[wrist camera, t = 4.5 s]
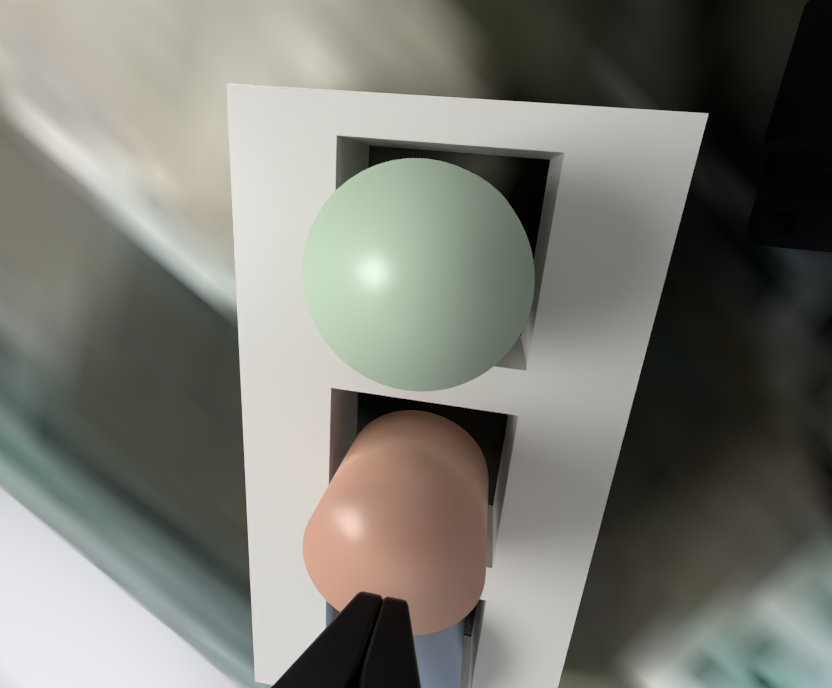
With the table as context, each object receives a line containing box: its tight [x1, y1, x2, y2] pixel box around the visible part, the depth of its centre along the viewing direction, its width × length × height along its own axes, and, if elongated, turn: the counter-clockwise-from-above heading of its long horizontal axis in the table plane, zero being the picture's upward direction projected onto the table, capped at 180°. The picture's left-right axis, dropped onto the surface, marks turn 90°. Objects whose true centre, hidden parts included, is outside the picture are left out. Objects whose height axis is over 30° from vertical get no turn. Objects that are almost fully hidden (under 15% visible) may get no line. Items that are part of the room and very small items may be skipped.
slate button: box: [413, 618, 465, 688], centre depth 14 cm, size 4×4×3 cm
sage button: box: [302, 158, 535, 392], centre depth 9 cm, size 4×4×3 cm
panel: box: [226, 83, 709, 688], centre depth 13 cm, size 9×17×2 cm, turn 175°
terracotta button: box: [302, 410, 489, 635], centre depth 10 cm, size 4×4×3 cm
